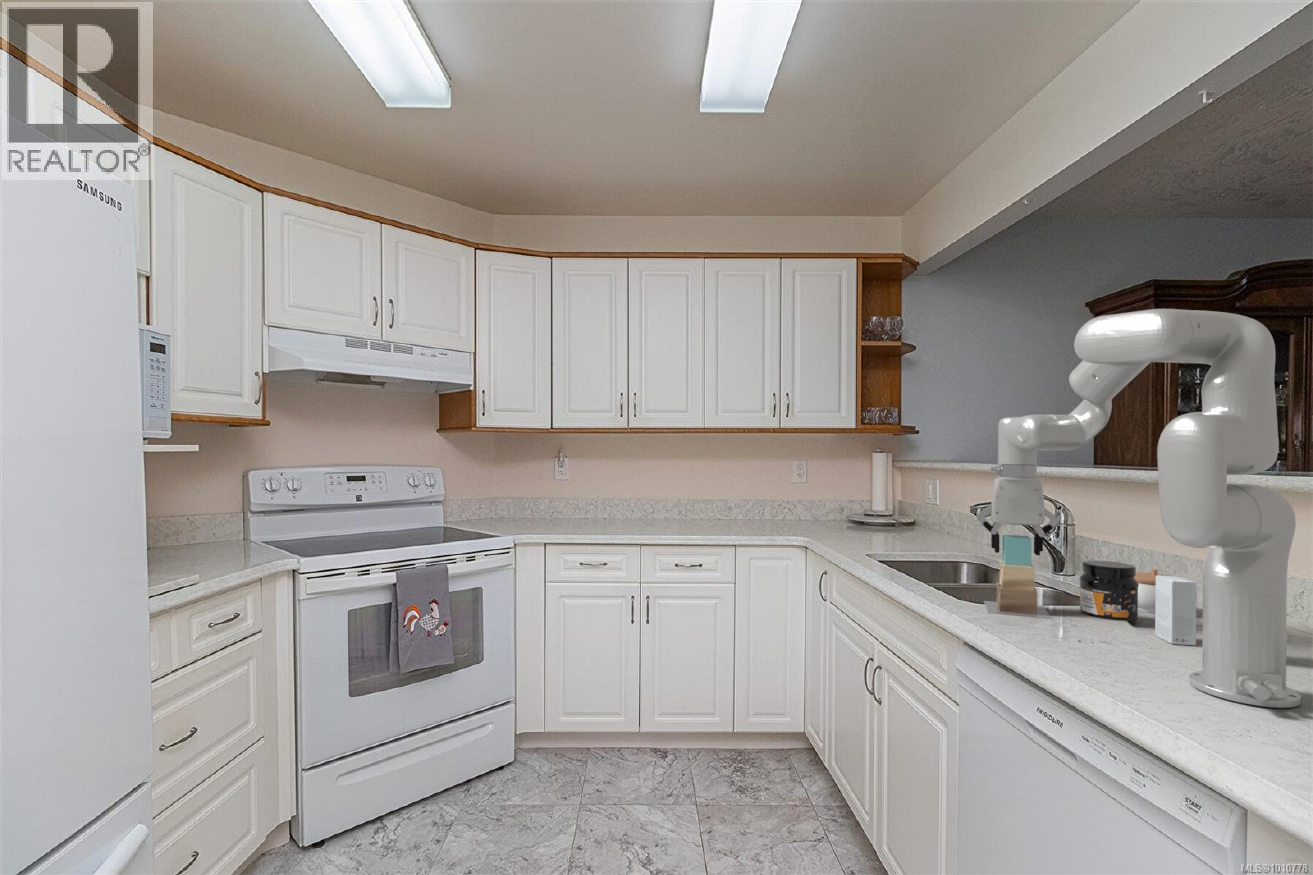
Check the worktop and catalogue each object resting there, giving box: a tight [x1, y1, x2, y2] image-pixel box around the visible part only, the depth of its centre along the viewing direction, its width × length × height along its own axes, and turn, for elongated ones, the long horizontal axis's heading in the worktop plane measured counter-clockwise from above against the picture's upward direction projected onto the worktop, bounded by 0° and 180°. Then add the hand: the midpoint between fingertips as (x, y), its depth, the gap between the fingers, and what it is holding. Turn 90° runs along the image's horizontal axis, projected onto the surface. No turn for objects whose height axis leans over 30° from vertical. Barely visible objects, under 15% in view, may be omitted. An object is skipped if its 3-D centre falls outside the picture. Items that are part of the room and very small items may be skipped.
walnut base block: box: [996, 581, 1038, 615], centre depth 145 cm, size 7×7×5 cm
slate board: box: [983, 600, 1053, 620], centre depth 145 cm, size 12×12×1 cm
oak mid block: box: [999, 560, 1035, 591], centre depth 145 cm, size 6×6×5 cm
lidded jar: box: [1134, 568, 1171, 614], centre depth 150 cm, size 11×11×9 cm
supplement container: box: [1079, 559, 1139, 626], centre depth 142 cm, size 10×10×12 cm
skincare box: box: [1154, 575, 1197, 646], centre depth 127 cm, size 6×4×12 cm
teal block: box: [1001, 534, 1032, 567], centre depth 145 cm, size 5×5×6 cm
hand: (1016, 552), depth 145 cm, fingers open, 7 cm apart
